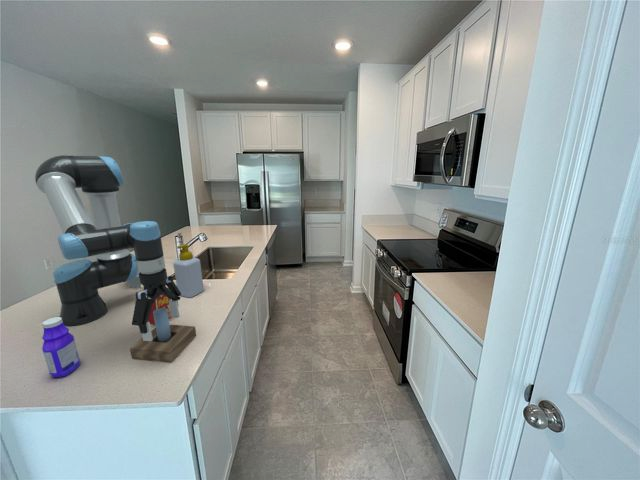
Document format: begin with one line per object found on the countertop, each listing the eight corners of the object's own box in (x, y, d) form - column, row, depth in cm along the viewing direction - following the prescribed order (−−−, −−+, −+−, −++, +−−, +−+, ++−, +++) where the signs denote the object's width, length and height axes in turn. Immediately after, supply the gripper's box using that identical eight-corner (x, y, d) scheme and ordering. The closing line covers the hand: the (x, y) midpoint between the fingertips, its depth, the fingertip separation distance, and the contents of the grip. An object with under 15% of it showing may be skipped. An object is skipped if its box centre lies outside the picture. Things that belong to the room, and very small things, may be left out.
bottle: (66, 362, 85) (52, 314, 80) (85, 361, 85) (72, 313, 81) (46, 379, 78) (28, 328, 73) (66, 378, 78) (50, 327, 74)
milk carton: (177, 316, 111) (170, 272, 106) (157, 328, 103) (148, 281, 97) (160, 312, 114) (153, 269, 109) (140, 324, 106) (131, 277, 100)
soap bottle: (176, 295, 129) (169, 246, 122) (191, 287, 137) (185, 241, 130) (190, 298, 126) (183, 248, 119) (205, 290, 134) (199, 243, 127)
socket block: (132, 358, 87) (129, 348, 86) (161, 333, 100) (159, 323, 99) (171, 362, 85) (169, 351, 84) (196, 335, 98) (195, 326, 97)
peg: (157, 349, 91) (150, 313, 87) (164, 342, 95) (158, 307, 91) (167, 350, 90) (161, 314, 87) (175, 343, 94) (169, 308, 90)
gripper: (132, 287, 72) (145, 353, 78) (186, 257, 96) (194, 309, 102) (107, 286, 73) (122, 351, 79) (167, 256, 97) (175, 308, 103)
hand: (162, 327), depth 90 cm, fingers open, 13 cm apart
